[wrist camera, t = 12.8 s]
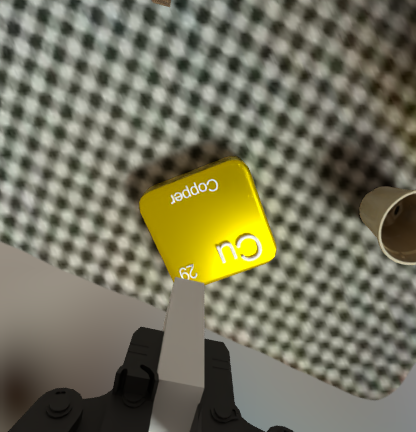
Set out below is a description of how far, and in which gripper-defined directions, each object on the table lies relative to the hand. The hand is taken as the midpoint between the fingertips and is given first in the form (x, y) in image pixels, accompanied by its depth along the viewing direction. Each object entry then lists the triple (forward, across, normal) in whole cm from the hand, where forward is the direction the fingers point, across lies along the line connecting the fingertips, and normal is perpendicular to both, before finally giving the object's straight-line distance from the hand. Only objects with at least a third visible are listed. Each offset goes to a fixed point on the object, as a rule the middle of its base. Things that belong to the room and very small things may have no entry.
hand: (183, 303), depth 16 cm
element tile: (+30, -3, +5) cm, 31 cm away
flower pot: (+30, -26, -3) cm, 40 cm away
